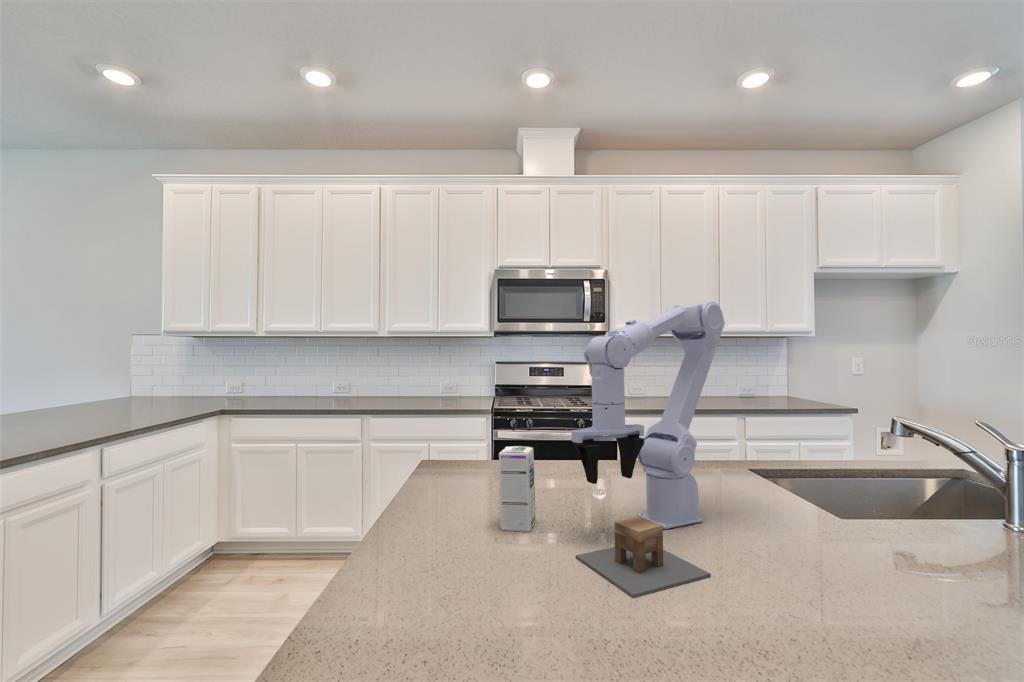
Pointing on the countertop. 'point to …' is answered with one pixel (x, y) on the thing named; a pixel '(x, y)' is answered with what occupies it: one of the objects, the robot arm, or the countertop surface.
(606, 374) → the robot arm
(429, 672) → the countertop surface
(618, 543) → the notched brown block
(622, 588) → the mat
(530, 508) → the syrup box
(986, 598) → the countertop surface
